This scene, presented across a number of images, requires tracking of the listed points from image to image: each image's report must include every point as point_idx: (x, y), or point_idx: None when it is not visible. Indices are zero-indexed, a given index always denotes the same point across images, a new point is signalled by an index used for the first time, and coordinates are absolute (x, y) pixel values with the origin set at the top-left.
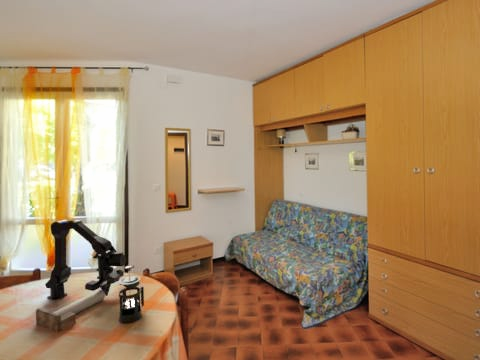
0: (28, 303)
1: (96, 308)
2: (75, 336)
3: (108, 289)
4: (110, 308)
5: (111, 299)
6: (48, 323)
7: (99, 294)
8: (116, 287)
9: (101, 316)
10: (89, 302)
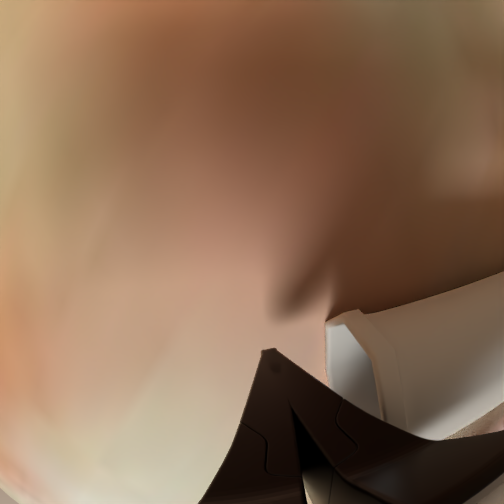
0: None
1: (478, 183)
2: None
3: (270, 415)
4: (410, 23)
5: (254, 234)
6: None
7: (453, 353)
8: (65, 440)
9: (498, 20)
10: None
